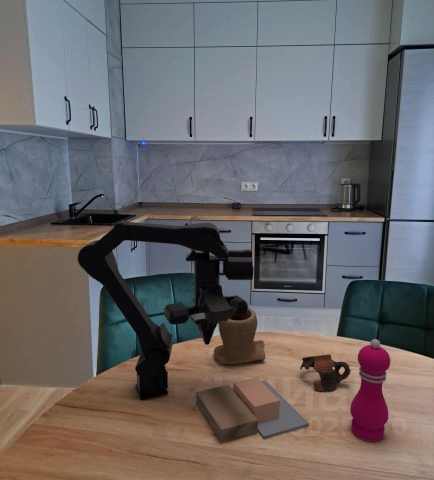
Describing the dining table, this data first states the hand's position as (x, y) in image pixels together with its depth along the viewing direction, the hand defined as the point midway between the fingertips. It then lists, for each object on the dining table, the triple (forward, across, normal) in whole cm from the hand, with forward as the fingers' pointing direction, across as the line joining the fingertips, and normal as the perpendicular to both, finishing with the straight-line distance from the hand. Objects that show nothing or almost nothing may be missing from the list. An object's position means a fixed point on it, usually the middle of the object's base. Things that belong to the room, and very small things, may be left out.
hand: (206, 344), depth 92 cm
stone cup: (+12, +15, +11) cm, 22 cm away
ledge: (+12, 0, -11) cm, 16 cm away
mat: (+12, +10, -11) cm, 19 cm away
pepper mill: (+12, +25, -26) cm, 38 cm away
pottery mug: (+12, +29, -7) cm, 32 cm away
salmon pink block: (+9, +4, -11) cm, 15 cm away
